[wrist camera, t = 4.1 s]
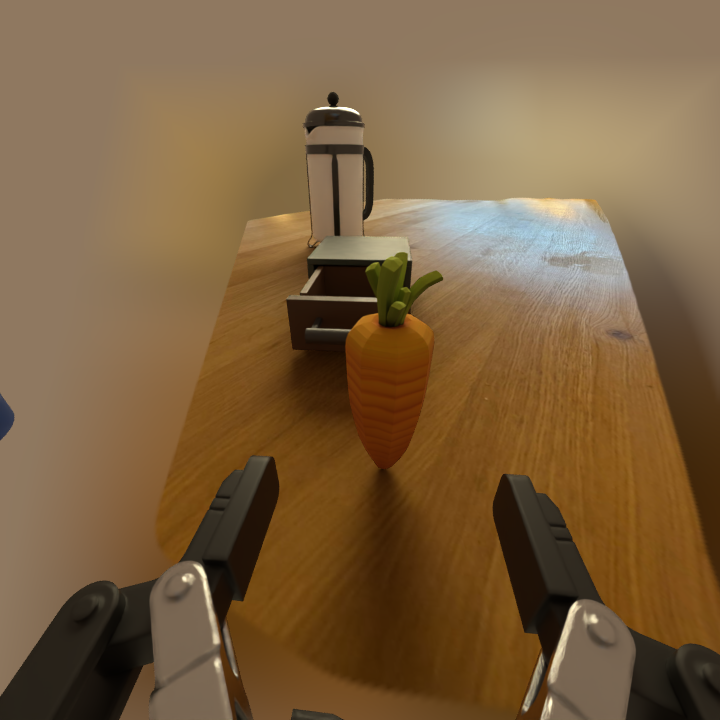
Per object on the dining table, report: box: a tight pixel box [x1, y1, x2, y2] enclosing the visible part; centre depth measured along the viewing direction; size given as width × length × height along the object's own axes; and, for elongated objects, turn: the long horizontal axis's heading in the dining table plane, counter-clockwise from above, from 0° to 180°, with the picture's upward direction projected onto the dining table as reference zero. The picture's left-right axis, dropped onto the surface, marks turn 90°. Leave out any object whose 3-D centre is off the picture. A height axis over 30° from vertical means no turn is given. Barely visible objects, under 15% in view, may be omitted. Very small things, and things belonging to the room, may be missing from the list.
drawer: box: [286, 265, 411, 352], centre depth 38 cm, size 18×12×6 cm
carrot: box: [345, 252, 443, 469], centre depth 20 cm, size 5×5×15 cm
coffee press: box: [303, 92, 374, 247], centre depth 75 cm, size 17×16×30 cm
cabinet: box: [307, 236, 412, 290], centre depth 51 cm, size 15×14×8 cm
